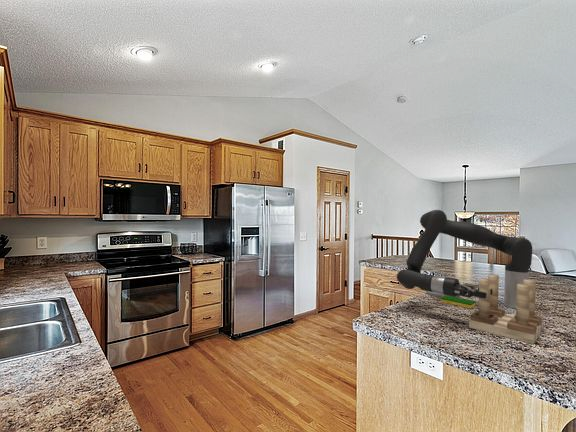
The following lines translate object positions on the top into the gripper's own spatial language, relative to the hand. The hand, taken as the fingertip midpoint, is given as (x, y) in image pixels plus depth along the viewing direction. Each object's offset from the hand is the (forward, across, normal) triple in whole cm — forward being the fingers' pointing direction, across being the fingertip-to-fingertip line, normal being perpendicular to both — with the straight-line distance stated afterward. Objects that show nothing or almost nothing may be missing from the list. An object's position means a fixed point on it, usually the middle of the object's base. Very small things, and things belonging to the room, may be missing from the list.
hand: (489, 293), depth 121 cm
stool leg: (-2, 0, +11) cm, 11 cm away
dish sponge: (-20, +28, +14) cm, 37 cm away
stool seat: (+4, +6, +14) cm, 16 cm away
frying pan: (-33, +46, +14) cm, 58 cm away
